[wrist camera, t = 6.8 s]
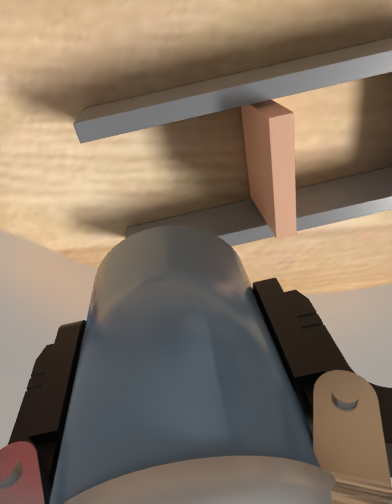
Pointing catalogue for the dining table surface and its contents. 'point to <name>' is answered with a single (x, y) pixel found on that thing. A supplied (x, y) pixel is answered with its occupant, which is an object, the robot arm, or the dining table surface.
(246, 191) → the dining table surface
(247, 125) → the block
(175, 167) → the dining table surface
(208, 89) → the lane
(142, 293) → the jar
